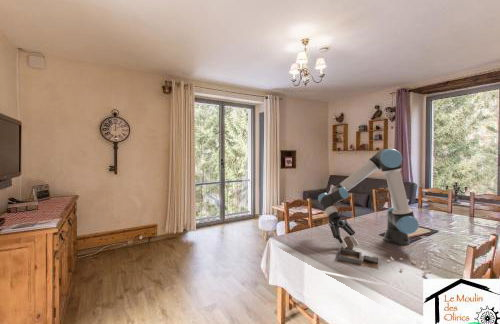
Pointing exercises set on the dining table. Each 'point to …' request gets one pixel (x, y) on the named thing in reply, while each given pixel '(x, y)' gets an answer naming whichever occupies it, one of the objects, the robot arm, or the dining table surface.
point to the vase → (348, 243)
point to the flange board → (363, 263)
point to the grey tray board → (353, 260)
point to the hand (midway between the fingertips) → (351, 246)
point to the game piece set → (413, 263)
